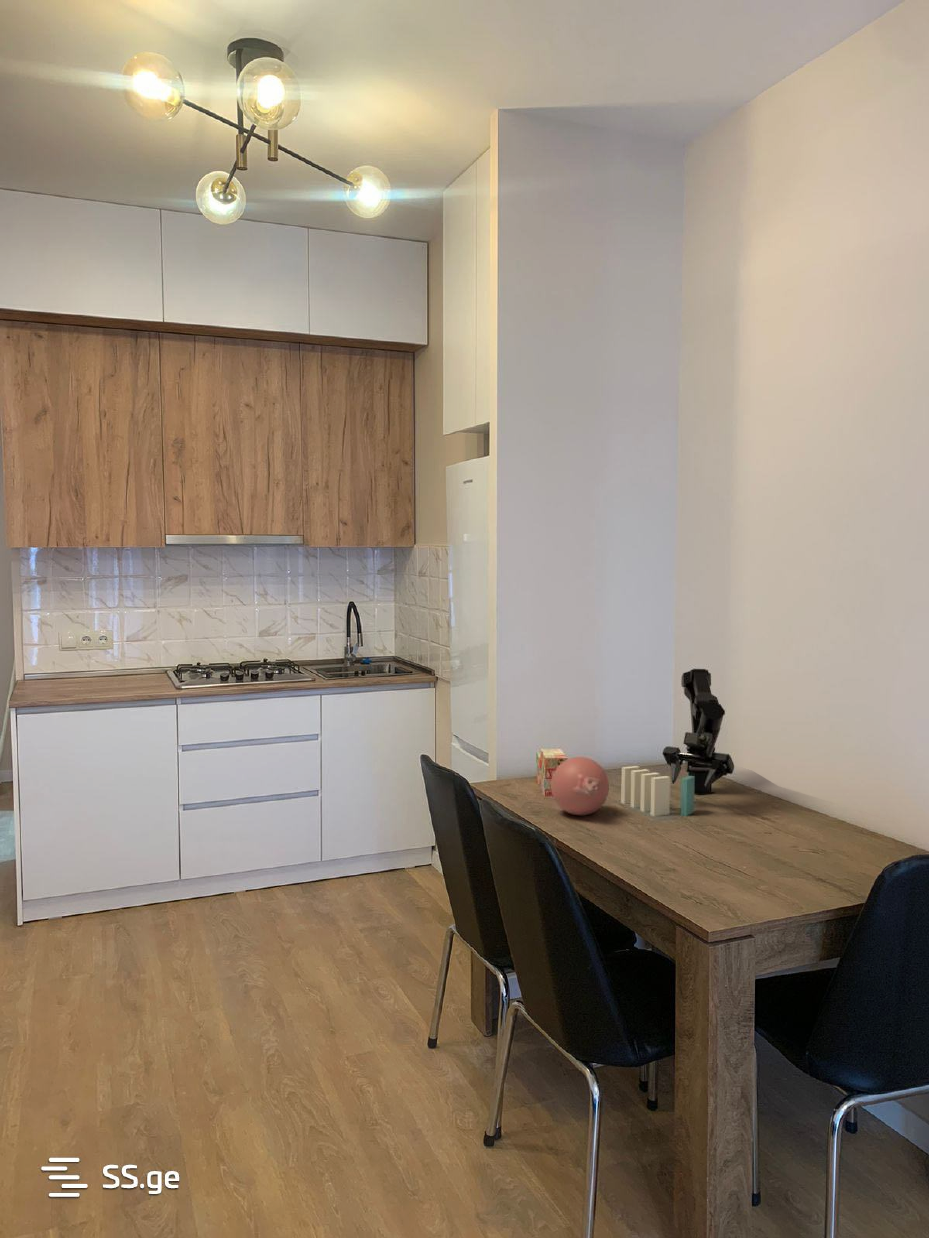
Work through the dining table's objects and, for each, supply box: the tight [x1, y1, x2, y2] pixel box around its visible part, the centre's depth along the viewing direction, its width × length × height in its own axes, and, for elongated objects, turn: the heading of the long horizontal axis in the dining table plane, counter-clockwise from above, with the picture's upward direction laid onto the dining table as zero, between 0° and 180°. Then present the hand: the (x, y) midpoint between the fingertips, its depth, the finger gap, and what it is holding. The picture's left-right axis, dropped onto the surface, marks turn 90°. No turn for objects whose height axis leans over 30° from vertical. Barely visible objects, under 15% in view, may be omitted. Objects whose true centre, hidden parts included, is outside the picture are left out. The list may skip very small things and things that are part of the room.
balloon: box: [551, 756, 610, 816], centre depth 246 cm, size 15×20×15 cm
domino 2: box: [631, 768, 651, 808], centre depth 256 cm, size 2×5×10 cm, turn 116°
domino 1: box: [620, 765, 641, 804], centre depth 260 cm, size 2×5×10 cm, turn 116°
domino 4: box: [650, 775, 671, 816], centre depth 248 cm, size 2×5×10 cm, turn 116°
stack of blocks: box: [535, 748, 568, 797], centre depth 274 cm, size 21×6×12 cm, turn 2°
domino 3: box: [640, 772, 661, 812], centre depth 252 cm, size 2×5×10 cm, turn 115°
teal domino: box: [680, 775, 695, 817], centre depth 249 cm, size 2×5×10 cm, turn 143°
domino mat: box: [608, 800, 682, 821], centre depth 256 cm, size 8×27×1 cm, turn 25°
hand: (688, 785), depth 249 cm, fingers open, 9 cm apart
